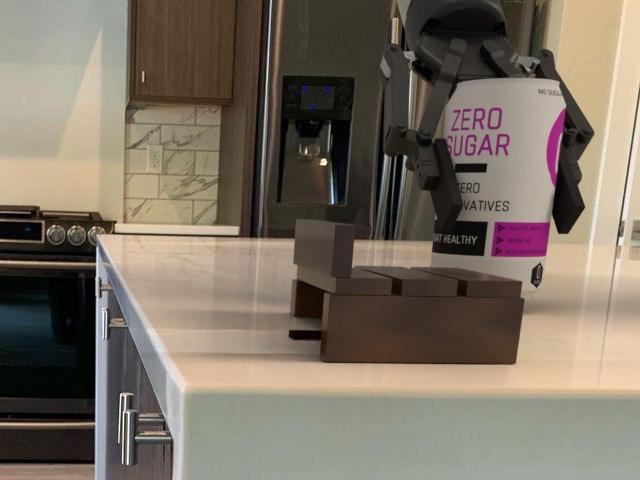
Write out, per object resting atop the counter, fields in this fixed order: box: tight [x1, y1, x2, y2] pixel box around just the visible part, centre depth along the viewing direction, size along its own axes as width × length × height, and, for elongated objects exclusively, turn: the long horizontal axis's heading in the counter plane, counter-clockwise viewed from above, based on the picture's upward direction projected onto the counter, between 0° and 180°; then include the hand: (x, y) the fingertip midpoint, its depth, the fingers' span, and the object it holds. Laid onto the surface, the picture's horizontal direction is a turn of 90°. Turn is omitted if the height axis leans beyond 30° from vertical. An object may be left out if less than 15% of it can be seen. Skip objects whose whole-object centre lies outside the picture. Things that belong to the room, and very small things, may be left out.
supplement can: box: [429, 78, 566, 300], centre depth 70 cm, size 8×8×15 cm
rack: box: [288, 218, 526, 365], centre depth 61 cm, size 12×10×8 cm
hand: (512, 219), depth 68 cm, fingers closed on supplement can, 8 cm apart
